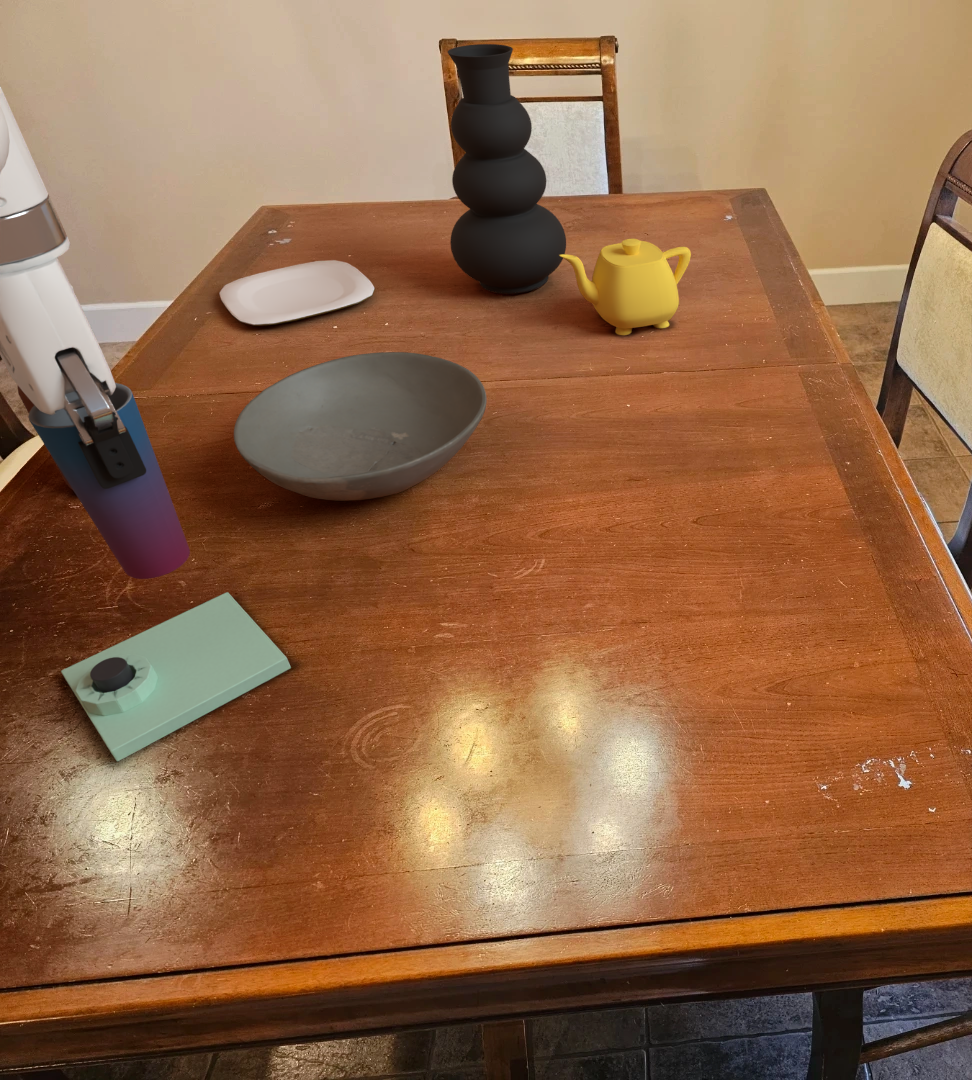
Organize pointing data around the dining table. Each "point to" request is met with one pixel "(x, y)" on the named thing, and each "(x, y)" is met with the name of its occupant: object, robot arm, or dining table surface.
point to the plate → (295, 292)
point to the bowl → (361, 424)
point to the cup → (120, 492)
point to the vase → (499, 181)
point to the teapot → (632, 284)
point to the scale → (177, 674)
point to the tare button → (111, 674)
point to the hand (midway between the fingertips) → (108, 461)
